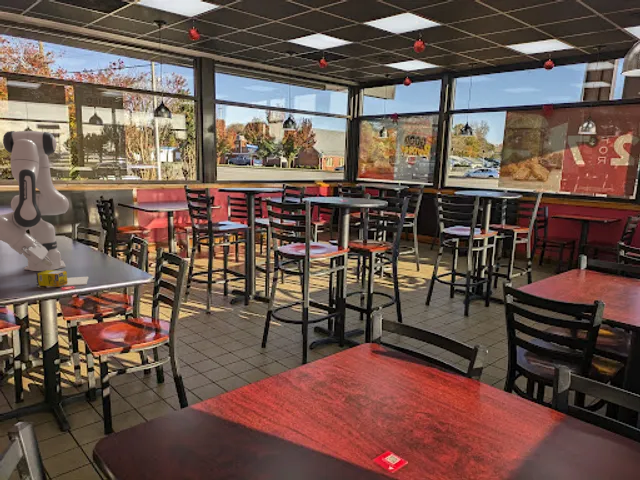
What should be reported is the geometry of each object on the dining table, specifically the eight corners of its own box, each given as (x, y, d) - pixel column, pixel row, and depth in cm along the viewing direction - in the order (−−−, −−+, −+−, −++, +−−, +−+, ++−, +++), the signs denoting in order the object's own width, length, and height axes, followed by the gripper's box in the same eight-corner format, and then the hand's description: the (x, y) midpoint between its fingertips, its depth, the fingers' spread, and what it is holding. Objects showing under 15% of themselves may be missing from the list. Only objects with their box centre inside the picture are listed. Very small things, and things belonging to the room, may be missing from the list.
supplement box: (37, 285, 212) (59, 287, 211) (35, 272, 211) (57, 274, 210) (46, 282, 218) (68, 283, 217) (45, 269, 217) (66, 270, 216)
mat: (51, 280, 224) (51, 278, 224) (88, 277, 230) (88, 276, 230) (46, 287, 211) (46, 286, 211) (86, 284, 217) (86, 283, 217)
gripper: (26, 243, 203) (53, 264, 208) (34, 236, 221) (59, 255, 227) (15, 254, 202) (43, 275, 207) (24, 246, 220) (49, 265, 226)
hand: (51, 264), depth 217 cm, fingers closed
